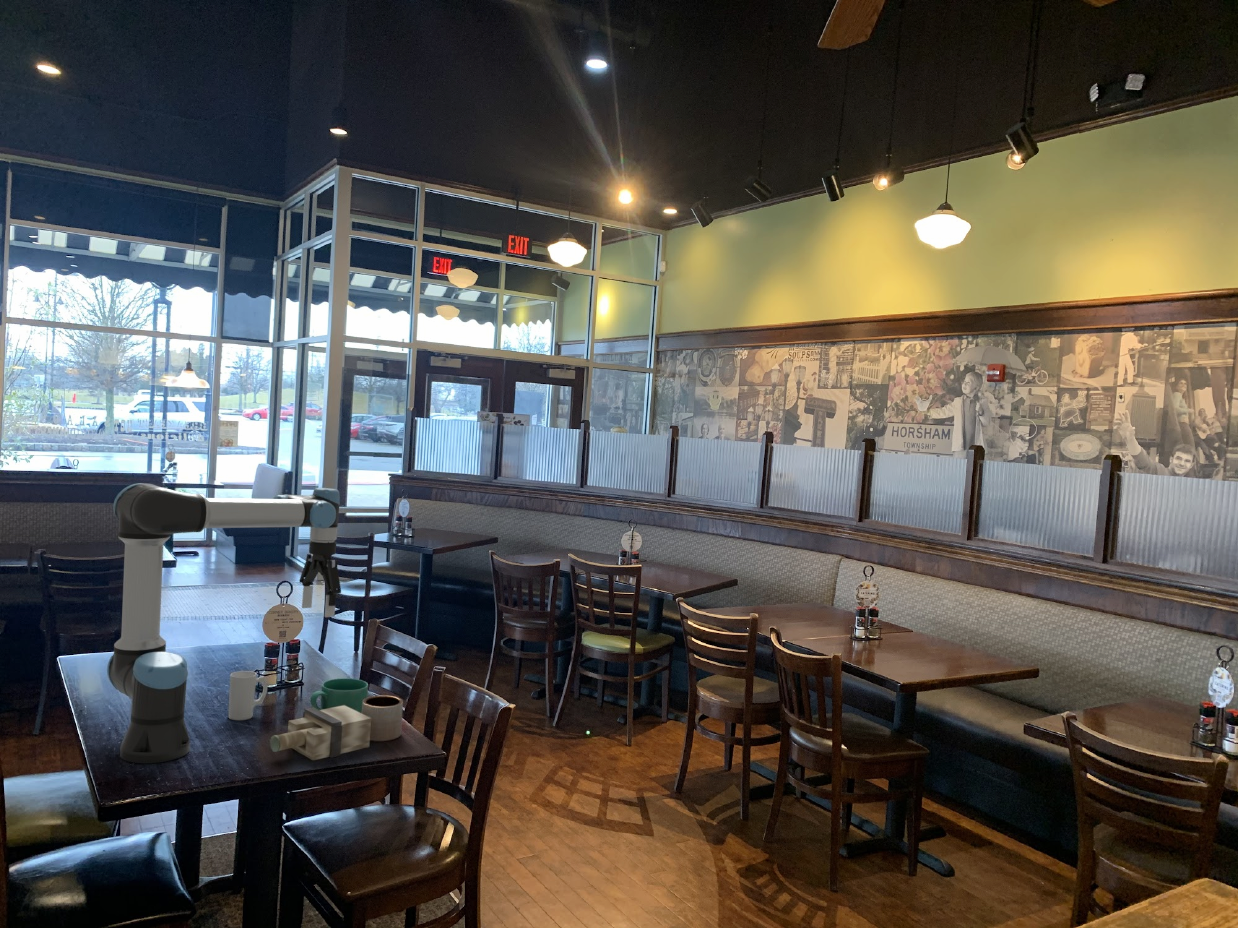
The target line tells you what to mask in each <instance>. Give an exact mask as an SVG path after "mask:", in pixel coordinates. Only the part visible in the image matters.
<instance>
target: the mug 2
mask: <svg viewBox="0 0 1238 928" xmlns="http://www.w3.org/2000/svg"><path fill="white" fill-rule="evenodd" d="M368 691H369V684H368V682H366V681H364V680H362V679H357V678H349V677H347V678H344V677H343V678H333V679H328V680H326V681H324V682H322V685H321V690H316V691H314V692H313V693H312V694H311V696H310V704H311V706H312V707H314V708H316V709H318V710H323V709H328V708H333V707H338V706H343V705H345V706H347V707H349V708H351V709H353V710H355V711H357V712H359V713H362V702H363V700H364V699H365V698H367V697H368V696H369V693H368ZM318 697H320V706H318V703H317V699H318Z"/></svg>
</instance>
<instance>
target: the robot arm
mask: <svg viewBox="0 0 1238 928" xmlns="http://www.w3.org/2000/svg"><path fill="white" fill-rule="evenodd" d="M340 501H341V497H340V491H339V490H338V489H337V488H327V487H316V488H314V489H313V492H312V494H309V495H307V494H306V495H305V494H303V495H302V494H287V493H286V494H278V495H275V496H274V497H273V498H230V497H228V498H226V497H225V498H224V497H223V498H220V497H205V495H203V493H187V492H181V491H177V490H175V489H174V490H173V489H170V488H166V487H163V486H158V485H157V484H154V483H146V482H144V483H143V482H142V483H140V482H139V483H133V484H130V485H128V486H126V487H124V488H123V489H122V490H121V491H120V492H118V493H117V495H116V497H115V498H114V501H113V509H112V510H113V514H114V516H115V519H116V520H117V521H118V535H117V537H118V539H119V540H120V541H121V542H123V543H124V557H123V558H124V560H123V562H124V563H123V586H122V587H123V588H122V609H121V611H122V613H121V614H122V616H121V635H120V638H119V639H118V640H116V642H114V645H113V654H112V655H111V657H110V658H109V660H108V662H107V668H106V673H107V678H108V680H109V682H110V683H111V685H112V686H113V687H114V689H116V690H117V691H118V692H120V693H121V694H124V695H125V696H127V697H128V698H130V699H131V706H130V709H131V710H130V720H129V725H128V727H127V731H126V733H125V735H124V737H123V739H122V742H121V744H120V748H119V749H120V751H119V757H120V758H121V759H122V760H124V761H126V762H128V763H129V762H130V763H133V764H135V763H136V764H158V763H164V762H170V761H174V760H176V759H179V758H181V757H184V756H186V755H187V754H188V753H189V752H190V750H191V739H190V735H189V732H188V729H187V725H186V722H185V709H186V696H187V695H186V693H187V685H188V684H187V681H188V675H189V671H188V663H187V660H186V658H184V657H183V656H182V655H180V654H177V653H175V652H174V653H171V652H169V651H166V647H167V641H166V640H165V639H164V638H163V637H162V636H161V635H160V634H161V633H160V632H161V614H162V613H161V612H162V610H161V608H162V606H161V605H162V590H163V589H162V588H163V587H162V586H163V561H164V544H165V543H166V542H167V541H168V540H169V539H170V538H171V535H173V534H189V533H201V532H203V531H204V530H205V529H231V528H233V529H234V528H237V529H238V528H239V529H240V528H244V529H245V528H293V527H294V528H310V530H309V531H310V532H309V533H310V534H309V539H310V541H309V546H308V547H309V548H308V553H307V554H306V559H305V562H304V565H303V566H304V567H303V569H302V572H301V575H300V577H299V583H300V584H302V586H303V589H302V590H303V591H302V602H301V609H310V608H312V605H313V593H314V592H313V591H314V581H315V579H316V577H317V576H318V574H320V575H321V576H322V578H323V582H324V585H325V589H326V594H325V605H324V617H325V618H330V617H331V618H333V617H335V614H336V611H335V610H336V601H337V600H336V599H337V595H338V594H341V593H342V588H341V582H340V576H339V575H340V574H339V569H338V560H337V559H332V556H333V555H336V552H337V542H336V540H338V532H339V531H338V526H339V525H338V524H339V515H340V506H341V504H340Z"/></svg>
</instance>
